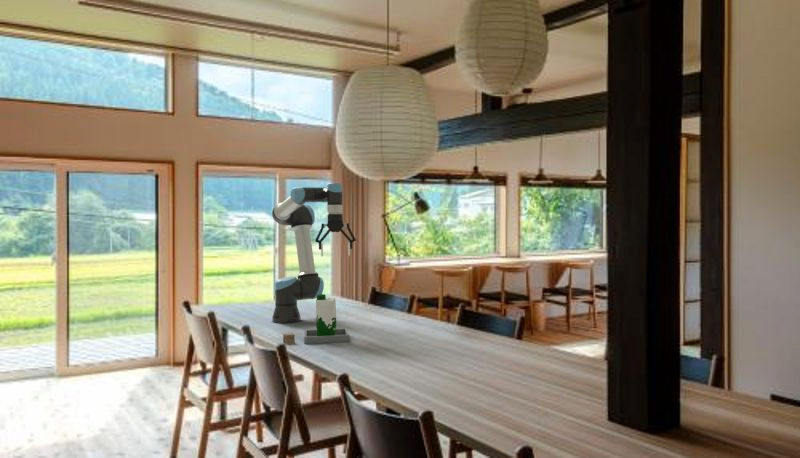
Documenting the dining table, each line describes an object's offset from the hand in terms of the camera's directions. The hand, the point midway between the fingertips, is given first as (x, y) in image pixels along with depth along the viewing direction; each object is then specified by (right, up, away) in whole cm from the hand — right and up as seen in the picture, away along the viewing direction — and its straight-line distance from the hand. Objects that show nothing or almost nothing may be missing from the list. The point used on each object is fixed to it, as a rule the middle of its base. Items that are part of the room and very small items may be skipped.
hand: (335, 255), depth 307 cm
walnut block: (-18, -38, -30) cm, 52 cm away
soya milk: (-2, -37, -23) cm, 44 cm away
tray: (-2, -38, -23) cm, 44 cm away
